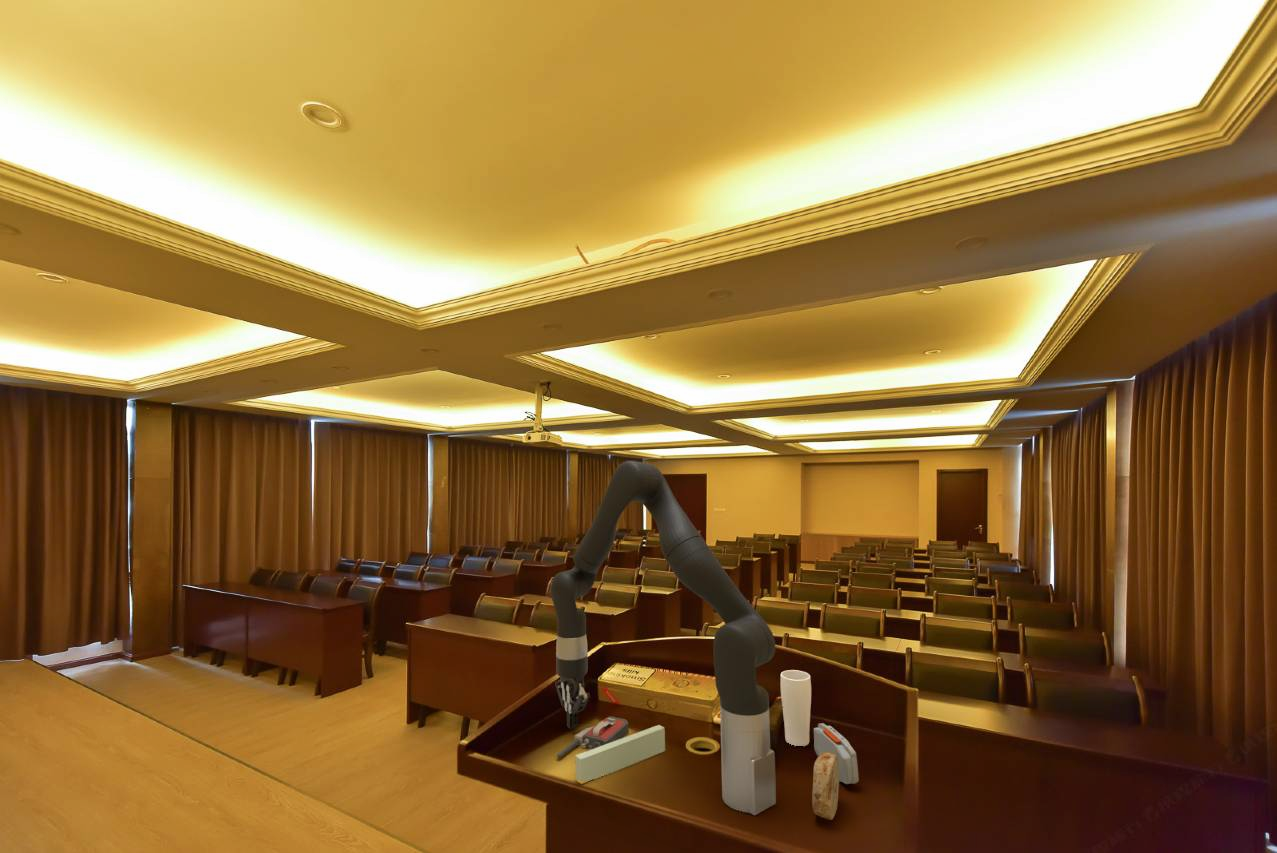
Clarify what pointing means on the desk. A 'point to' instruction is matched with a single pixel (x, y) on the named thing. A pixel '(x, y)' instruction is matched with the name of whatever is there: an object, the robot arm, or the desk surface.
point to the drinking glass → (796, 706)
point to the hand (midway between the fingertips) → (572, 727)
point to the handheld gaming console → (837, 752)
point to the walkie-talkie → (599, 734)
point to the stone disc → (825, 786)
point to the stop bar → (619, 753)
